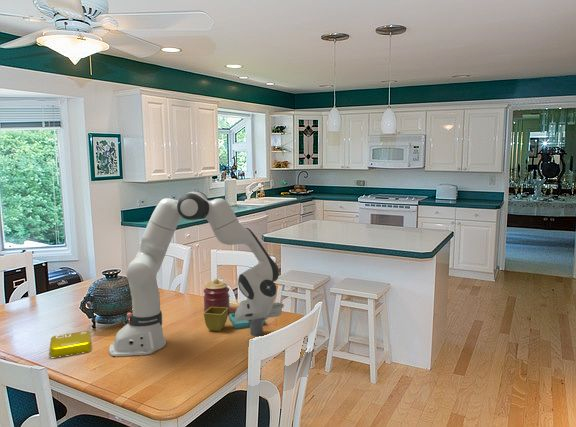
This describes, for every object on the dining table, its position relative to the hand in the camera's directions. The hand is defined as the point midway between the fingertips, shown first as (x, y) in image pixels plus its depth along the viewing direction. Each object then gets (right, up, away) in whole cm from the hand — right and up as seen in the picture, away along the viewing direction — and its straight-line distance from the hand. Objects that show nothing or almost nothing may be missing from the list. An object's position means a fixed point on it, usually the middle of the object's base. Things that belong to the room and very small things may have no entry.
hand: (256, 320), depth 200 cm
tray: (-5, -4, +14) cm, 16 cm away
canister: (-22, -3, +27) cm, 35 cm away
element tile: (-76, -9, -13) cm, 77 cm away
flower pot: (-18, -6, +6) cm, 20 cm away
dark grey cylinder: (0, -6, 0) cm, 6 cm away
